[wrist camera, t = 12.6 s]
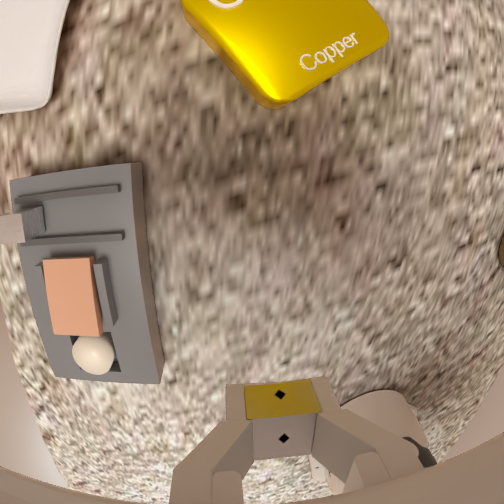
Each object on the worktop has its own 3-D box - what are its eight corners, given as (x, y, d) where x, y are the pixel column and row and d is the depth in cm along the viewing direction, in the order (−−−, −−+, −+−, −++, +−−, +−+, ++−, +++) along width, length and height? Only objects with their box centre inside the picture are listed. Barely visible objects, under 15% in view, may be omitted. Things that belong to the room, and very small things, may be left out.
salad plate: (-57, 131, 23) (-73, 132, 20) (-23, -9, 17) (-35, -15, 14) (63, 111, 25) (47, 107, 22) (104, -51, 19) (96, -65, 16)
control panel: (164, 362, 34) (157, 393, 29) (67, 357, 33) (50, 384, 28) (142, 161, 28) (124, 163, 22) (30, 176, 27) (0, 182, 21)
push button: (122, 359, 31) (115, 375, 28) (87, 357, 31) (78, 373, 28) (114, 324, 30) (105, 340, 27) (77, 323, 30) (67, 338, 27)
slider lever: (45, 231, 24) (25, 242, 21) (21, 233, 24) (0, 244, 21) (42, 205, 24) (21, 213, 20) (18, 208, 23) (-4, 216, 20)
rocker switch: (103, 331, 26) (99, 336, 25) (59, 330, 26) (54, 334, 25) (94, 256, 25) (89, 258, 24) (48, 257, 25) (42, 259, 24)
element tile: (268, 118, 28) (277, 111, 24) (175, 11, 24) (169, -10, 19) (378, 49, 27) (400, 36, 22) (292, -48, 22) (302, -70, 18)
